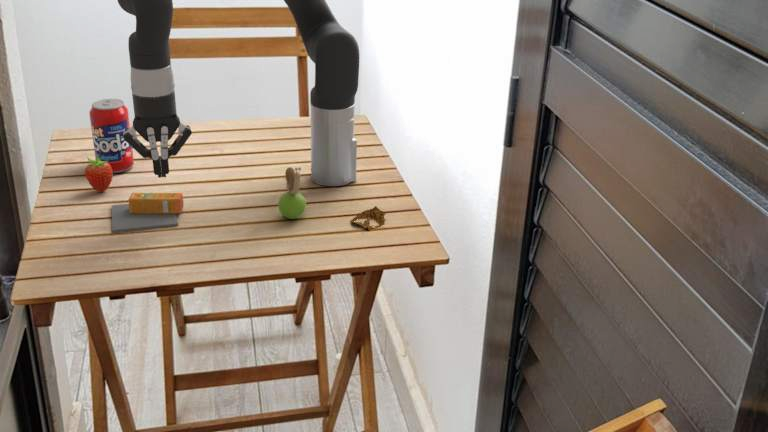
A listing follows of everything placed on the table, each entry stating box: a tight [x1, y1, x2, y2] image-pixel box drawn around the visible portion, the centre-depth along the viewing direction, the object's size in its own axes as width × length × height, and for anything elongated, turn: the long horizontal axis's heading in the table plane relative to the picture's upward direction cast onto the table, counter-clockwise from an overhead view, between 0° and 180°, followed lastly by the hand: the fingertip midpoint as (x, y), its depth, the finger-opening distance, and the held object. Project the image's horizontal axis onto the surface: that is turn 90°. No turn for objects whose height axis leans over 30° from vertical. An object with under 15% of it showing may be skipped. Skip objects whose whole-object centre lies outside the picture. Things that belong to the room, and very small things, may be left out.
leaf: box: [350, 205, 386, 231], centre depth 164 cm, size 6×7×2 cm
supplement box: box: [128, 192, 184, 214], centre depth 164 cm, size 3×3×10 cm
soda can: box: [88, 98, 135, 174], centre depth 180 cm, size 8×8×15 cm
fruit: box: [84, 156, 114, 193], centre depth 171 cm, size 5×5×8 cm
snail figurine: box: [277, 166, 307, 220], centre depth 161 cm, size 5×6×12 cm
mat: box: [111, 203, 179, 234], centre depth 163 cm, size 12×11×1 cm
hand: (161, 175), depth 160 cm, fingers closed
